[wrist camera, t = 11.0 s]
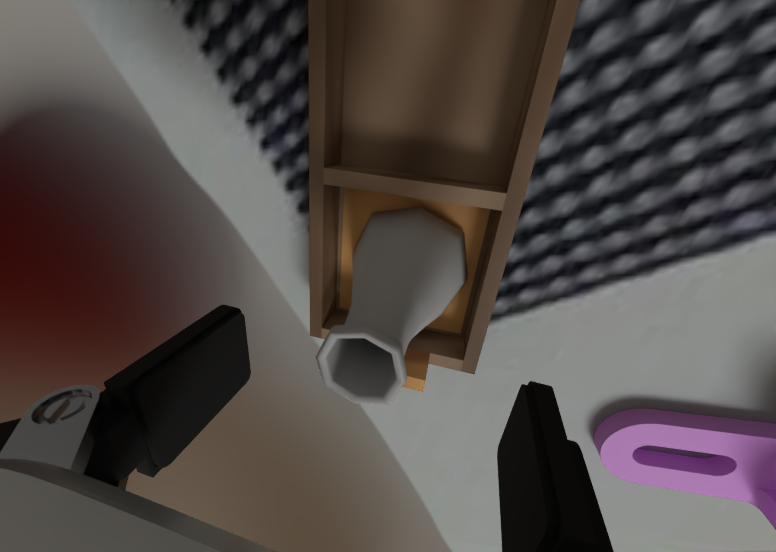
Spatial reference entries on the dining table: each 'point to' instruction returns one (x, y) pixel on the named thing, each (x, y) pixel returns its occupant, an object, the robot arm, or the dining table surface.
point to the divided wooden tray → (427, 141)
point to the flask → (392, 301)
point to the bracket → (691, 474)
